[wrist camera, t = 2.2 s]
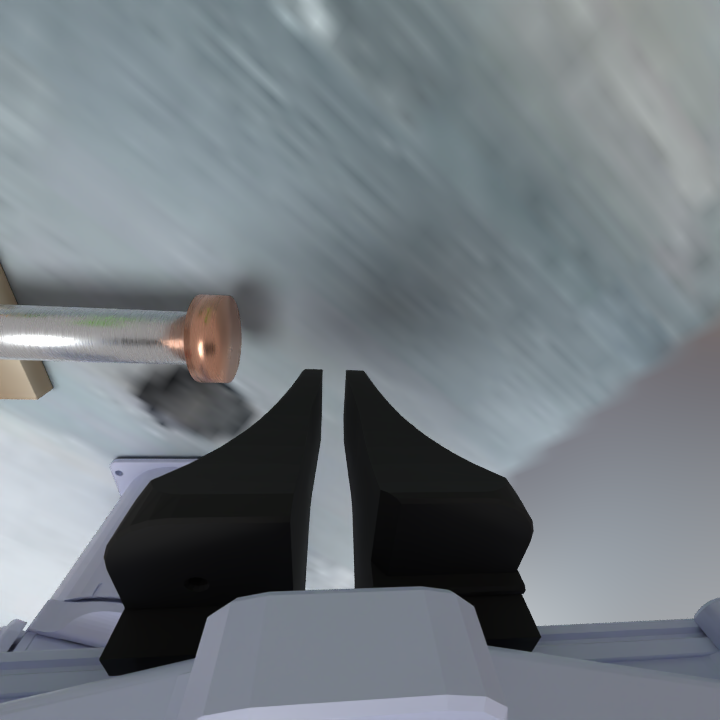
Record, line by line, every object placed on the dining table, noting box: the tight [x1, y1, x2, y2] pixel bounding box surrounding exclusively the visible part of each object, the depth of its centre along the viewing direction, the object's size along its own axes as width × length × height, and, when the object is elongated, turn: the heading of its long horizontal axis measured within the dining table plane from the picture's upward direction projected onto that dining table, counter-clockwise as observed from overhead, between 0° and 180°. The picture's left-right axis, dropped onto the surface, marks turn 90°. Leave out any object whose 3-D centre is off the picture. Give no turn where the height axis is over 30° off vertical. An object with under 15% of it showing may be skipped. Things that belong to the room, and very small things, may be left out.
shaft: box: [0, 294, 241, 383], centre depth 14 cm, size 18×4×4 cm, turn 86°
